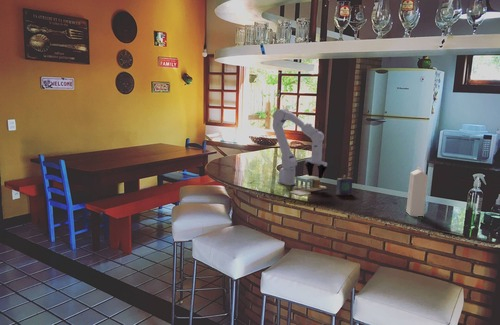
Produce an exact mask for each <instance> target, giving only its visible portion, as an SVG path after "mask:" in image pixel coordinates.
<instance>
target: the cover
mask: <svg viewBox="0 0 500 325" xmlns="http://www.w3.org/2000/svg"><path fill="white" fill-rule="evenodd" d="M313 179H314V178H312V177H309V176H304V175H301V176H295V183H296V184H295V186H296V187H298V186H303V185H305V189H307V184H310V188H312V183H313ZM299 181H300V184H299ZM295 186H294V187H295Z"/></svg>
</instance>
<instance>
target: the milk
mask: <svg viewBox="0 0 500 325" xmlns="http://www.w3.org/2000/svg"><path fill="white" fill-rule="evenodd" d="M416 168H417V169H415V170H413V171H410V173H409V174H410V175H409V182H408V192H407V201H406V210H405V212H407V213H408V214H409V215H410V216H409V217H418V216H423V217H424V215H425V208H426V207H425V206H426V199H427V198H426V197H427V189H428V181H429V175H428V174H427V173H424V172H423V168H422V167H421V166H417V167H416ZM407 213H406V214H407ZM408 214H407V215H408Z"/></svg>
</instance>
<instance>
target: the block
mask: <svg viewBox="0 0 500 325" xmlns="http://www.w3.org/2000/svg"><path fill="white" fill-rule="evenodd" d="M312 179H313V183H312V187H314V188H316V187H320V185H321V184H320V183H321V179H320V178H312Z"/></svg>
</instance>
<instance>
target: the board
mask: <svg viewBox="0 0 500 325" xmlns="http://www.w3.org/2000/svg"><path fill="white" fill-rule="evenodd" d="M292 187H293V188H294V190H303V191H306V192H309V193H311V192H314V191H321V190H326V189H327V186H325V185H321V184H320V187H316V188H314V187H312V188H310V183H308V184H307V189H305V184H303V186H300V185H298V187H296V186H292ZM293 188H292V189H293Z"/></svg>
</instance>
